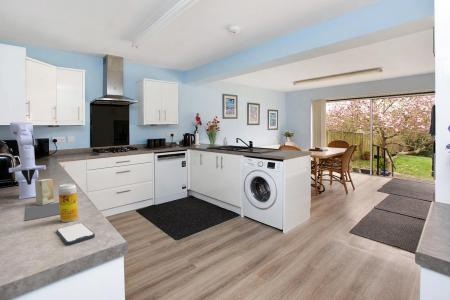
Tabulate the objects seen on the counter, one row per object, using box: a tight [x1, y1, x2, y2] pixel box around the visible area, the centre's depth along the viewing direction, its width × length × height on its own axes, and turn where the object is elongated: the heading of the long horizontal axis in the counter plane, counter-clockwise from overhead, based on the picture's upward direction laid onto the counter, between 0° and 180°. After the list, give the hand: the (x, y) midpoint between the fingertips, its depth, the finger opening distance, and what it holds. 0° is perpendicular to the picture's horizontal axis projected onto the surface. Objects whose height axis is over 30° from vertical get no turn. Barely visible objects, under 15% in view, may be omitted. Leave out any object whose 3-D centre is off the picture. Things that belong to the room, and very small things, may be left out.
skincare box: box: [35, 178, 55, 206], centre depth 118 cm, size 6×4×12 cm
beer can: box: [58, 183, 79, 223], centre depth 97 cm, size 6×6×15 cm
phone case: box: [56, 222, 96, 246], centre depth 84 cm, size 9×2×16 cm
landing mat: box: [24, 202, 60, 222], centre depth 109 cm, size 20×15×1 cm
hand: (29, 184), depth 121 cm, fingers closed
